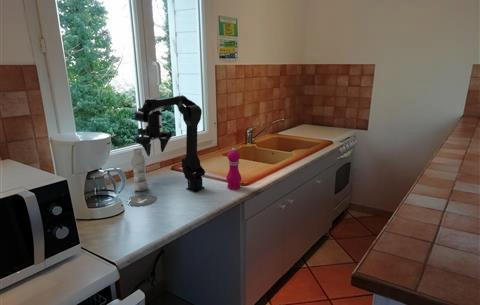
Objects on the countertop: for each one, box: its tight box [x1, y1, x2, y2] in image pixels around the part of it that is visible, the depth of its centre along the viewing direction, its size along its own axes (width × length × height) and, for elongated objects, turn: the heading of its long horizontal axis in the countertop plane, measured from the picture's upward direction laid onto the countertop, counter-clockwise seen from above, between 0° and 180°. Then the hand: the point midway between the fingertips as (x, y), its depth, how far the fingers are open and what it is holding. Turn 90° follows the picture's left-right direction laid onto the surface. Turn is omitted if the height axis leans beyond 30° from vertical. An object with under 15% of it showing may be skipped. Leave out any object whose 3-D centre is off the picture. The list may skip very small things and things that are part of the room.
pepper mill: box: [225, 147, 242, 191], centre depth 152 cm, size 7×7×20 cm
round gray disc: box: [127, 193, 158, 208], centre depth 140 cm, size 13×13×1 cm
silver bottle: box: [130, 147, 149, 192], centre depth 148 cm, size 6×7×20 cm
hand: (155, 153), depth 162 cm, fingers open, 9 cm apart
